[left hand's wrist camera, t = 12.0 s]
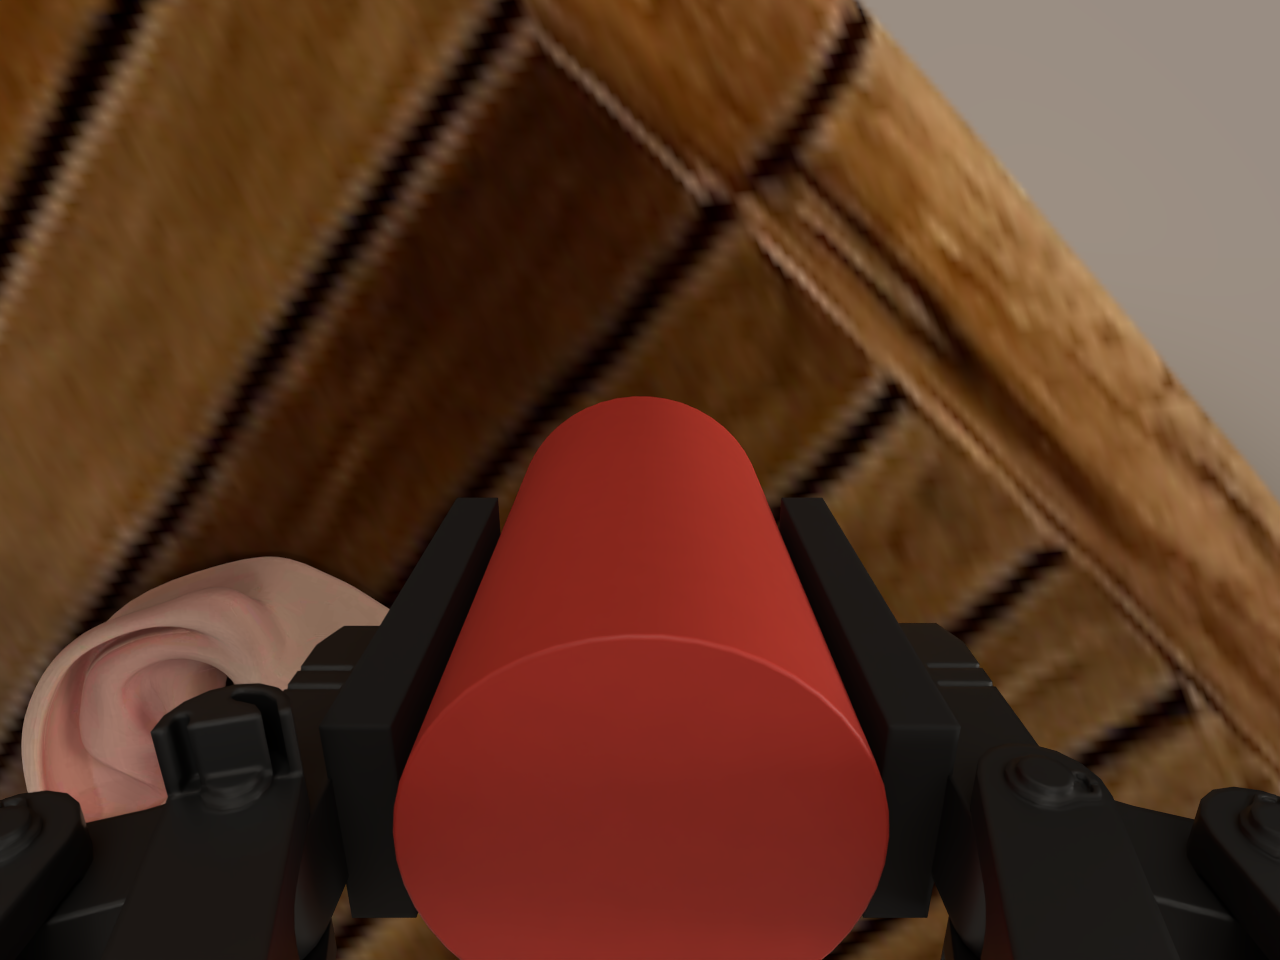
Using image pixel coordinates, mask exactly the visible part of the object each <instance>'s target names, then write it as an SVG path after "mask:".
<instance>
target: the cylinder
mask: <svg viewBox="0 0 1280 960" xmlns="http://www.w3.org/2000/svg"><path fill="white" fill-rule="evenodd" d="M393 838H394V845H395V853H396V860H397V864H398V867H399V870H400V873H401V877H402V880H403V883H404V886H405V888H406V890H407V892H408V894H409V896H410V898H411V900H412V902H413V904H414V907H415V908H416V910H417V911H418V913H419V914H420V916H421V917H422V918H423V920H424V921H425V923H426V924H427V926H428V927H429V929H430V930H431V931H432V932H433V933H434V934H435V935H436V936H437V938H438V939H439V940H440V941H441V942H442V943H443V944H444V945H445V947H446V948H447V949H449V950H450V951H451V952H452V953H453V954H454V955H456V956H457V957H458V958H459V959H460V960H822V959H823V958H824V957H825V956H827V955H828V954H829V953H830V952H831V951H833V950H834V949H835V947H836V946H837V945H838V944H839V943H840V942H841V941H842V940H843V939H844V938H845V937H846V936H847V935H848V934H849V932H850V931H851V930H852V929H853V927H854V926H855V924H856V923H857V922H858V920H859V919H860V917H861V916H862V915H863V913H864V912H865V910H866V908H867V906H868V904H869V902H870V901H871V899H872V897H873V895H874V893H875V891H876V889H877V886H878V883H879V880H880V877H881V874H882V871H883V868H884V865H885V860H886V854H887V847H888V841H889V808H888V803H887V798H886V792H885V787H884V783H883V780H882V778H881V775H880V772H879V770H878V767H877V764H876V761H875V759H874V756H873V754H872V752H871V749H870V747H869V744H868V742H867V740H866V737H865V735H864V732H863V730H862V728H861V725H860V723H859V720H858V718H857V716H856V713H855V711H854V708H853V706H852V704H851V701H850V699H849V696H848V694H847V692H846V689H845V687H844V684H843V682H842V680H841V677H840V675H839V672H838V670H837V668H836V665H835V663H834V661H833V658H832V656H831V653H830V651H829V649H828V646H827V644H826V641H825V639H824V637H823V634H822V632H821V629H820V627H819V625H818V622H817V620H816V617H815V615H814V613H813V610H812V608H811V605H810V603H809V601H808V598H807V596H806V593H805V591H804V589H803V586H802V584H801V581H800V579H799V577H798V574H797V572H796V569H795V567H794V565H793V562H792V560H791V557H790V555H789V553H788V550H787V548H786V545H785V543H784V541H783V538H782V536H781V534H780V531H779V529H778V526H777V524H776V522H775V519H774V517H773V514H772V512H771V510H770V507H769V505H768V502H767V500H766V498H765V495H764V493H763V490H762V488H761V486H760V483H759V481H758V478H757V476H756V474H755V471H754V469H753V466H752V464H751V462H750V460H749V459H748V457H747V455H746V453H745V451H744V450H743V449H742V447H741V446H740V444H739V443H738V442H737V440H736V439H735V438H734V437H733V436H732V435H731V434H730V433H729V432H728V431H727V430H726V429H725V428H724V427H723V426H722V425H720V424H719V423H718V422H717V421H715V420H714V419H713V418H711V417H710V416H708V415H706V414H704V413H703V412H701V411H699V410H698V409H695V408H693V407H690V406H688V405H686V404H683V403H680V402H676V401H672V400H669V399H664V398H656V397H635V396H633V397H625V398H617V399H613V400H609V401H605V402H601V403H598V404H596V405H593V406H591V407H588V408H586V409H584V410H582V411H580V412H579V413H577V414H575V415H573V416H571V417H570V418H569V419H567V420H566V421H565V422H563V423H562V424H561V425H559V426H558V427H557V428H556V429H555V430H554V431H553V432H552V433H551V434H550V435H549V436H548V437H547V438H546V440H545V441H544V442H543V443H542V445H541V446H540V447H539V449H538V450H537V452H536V454H535V455H534V457H533V459H532V461H531V462H530V465H529V467H528V470H527V472H526V474H525V477H524V479H523V482H522V484H521V487H520V489H519V491H518V494H517V496H516V499H515V501H514V503H513V506H512V508H511V511H510V513H509V516H508V518H507V520H506V523H505V525H504V528H503V530H502V533H501V535H500V537H499V540H498V542H497V545H496V547H495V549H494V552H493V554H492V557H491V559H490V562H489V564H488V566H487V569H486V571H485V574H484V576H483V579H482V581H481V583H480V586H479V588H478V591H477V593H476V595H475V598H474V600H473V603H472V605H471V608H470V610H469V612H468V615H467V617H466V620H465V622H464V625H463V627H462V629H461V632H460V634H459V637H458V639H457V641H456V644H455V646H454V649H453V651H452V654H451V656H450V658H449V661H448V663H447V666H446V668H445V671H444V673H443V675H442V678H441V680H440V683H439V685H438V688H437V690H436V692H435V695H434V697H433V700H432V702H431V704H430V707H429V709H428V712H427V714H426V717H425V719H424V721H423V724H422V726H421V729H420V731H419V734H418V736H417V738H416V741H415V743H414V746H413V748H412V750H411V753H410V755H409V758H408V760H407V763H406V765H405V768H404V770H403V773H402V775H401V778H400V781H399V785H398V789H397V794H396V799H395V803H394V814H393Z"/></svg>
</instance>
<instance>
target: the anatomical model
mask: <svg viewBox="0 0 1280 960" xmlns="http://www.w3.org/2000/svg"><path fill="white" fill-rule="evenodd" d="M389 610H390V609H388V608H387V607H385V606H384V605H382V604H381V603H379V602H377V601H376V600H374V599H373V598H371V597H369V596H368V595H366V594H365V593H363V592H361V591H360V590H358V589H357V588H355V587H353V586H351V585H349V584H348V583H346V582H344V581H342V580H340V579H338V578H335V577H333V576H331V575H329V574H326V573H324V572H322V571H320V570H318V569H315V568H313V567H311V566H309V565H307V564H304V563H301V562H298V561H295V560H291V559H287V558H281V557H258V558H250V559H243V560H239V561H235V562H230V563H226V564H222V565H219V566H215V567H212V568H208V569H205V570H202V571H198V572H195V573H192V574H189V575H186V576H183V577H180V578H178V579H175V580H172V581H170V582H167V583H165V584H163V585H160V586H158V587H156V588H154V589H151V590H149V591H147V592H146V593H144V594H142V595H141V596H139V597H137V598H135V599H134V600H132V601H130V602H129V603H127V604H126V605H125V606H124V607H122V608H121V609H120V610H119V611H117V612H116V613H115V614H114V615H113V616H112V617H111V618H110V619H109V620H108V621H107V622H104V623H102V624H100V625H98V626H96V627H94V628H92V629H91V630H89V631H87V632H85V633H84V634H82V635H81V636H79V637H78V638H76V639H75V640H74V641H73V642H71V643H70V644H69V645H68V646H66V647H65V648H64V649H63V650H62V651H61V652H60V653H59V654H58V655H57V656H56V658H55V659H54V660H53V661H52V662H51V664H50V665H49V666H48V668H47V669H46V671H45V672H44V674H43V675H42V677H41V679H40V680H39V682H38V684H37V686H36V688H35V690H34V693H33V695H32V697H31V700H30V702H29V705H28V708H27V712H26V715H25V719H24V724H23V731H22V761H23V770H24V776H25V781H26V786H27V791H28V793H31V792H38V791H45V790H49V791H56V792H63V793H68V794H69V795H71V796H72V797H73V798H74V799H75V800H77V801H78V802H79V803H80V806H81V809H82V812H83V816H84V819H85V822H86V823H87V822H92V821H96V820H101V819H105V818H110V817H114V816H118V815H123V814H127V813H132V812H136V811H141V810H145V809H149V808H152V807H156V806H159V805H163V804H165V803H166V800H167V798H168V796H167V792H166V789H165V785H164V781H163V777H162V774H161V770H160V766H159V763H158V759H157V755H156V751H155V748H154V744H153V740H152V737H151V733H150V732H151V731H152V729H153V728H154V727H155V726H156V724H157V723H158V722H159V721H160V719H161V718H162V717H163V716H164V715H165V714H167V713H168V712H170V711H171V710H173V709H174V708H175V707H177V706H178V705H180V704H181V703H183V702H184V701H186V700H189V699H191V698H193V697H196V696H198V695H200V694H202V693H205V692H207V691H209V690H213V689H218V688H222V687H226V686H230V685H234V684H251V683H261V684H266V685H270V686H274V687H278V688H280V689H281V690H282V691H283V690H284V689H287V688H288V683H289V682H290V681H291V679H292V678H293V677H294V675H295V674H296V672H297V671H300V670H301V665H302V664H303V663H304V661H305V660H306V659H307V657H308V656H309V654H310V653H311V652H312V650H313V649H314V647H315V646H316V645H317V644H318V643H320V642H321V641H322V640H324V639H325V638H327V637H328V636H330V635H331V634H333V633H334V632H335V631H337V630H338V629H340V628H341V627H343V626H380V625H381V623H382V621H383V620H384V618H385V616H386V615H387V613H388V611H389Z"/></svg>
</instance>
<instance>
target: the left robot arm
mask: <svg viewBox="0 0 1280 960" xmlns="http://www.w3.org/2000/svg"><path fill="white" fill-rule="evenodd" d="M779 531H780V534H781V536H782V538H783V541H784V543H785V545H786V548H787V550H788V553H789V555H790V557H791V560H792V562H793V565H794V567H795V569H796V572H797V574H798V577H799V579H800V581H801V584H802V586H803V589H804V591H805V593H806V596H807V598H808V601H809V603H810V605H811V608H812V610H813V613H814V615H815V617H816V620H817V622H818V625H819V627H820V629H821V632H822V634H823V637H824V639H825V641H826V644H827V646H828V649H829V651H830V653H831V656H832V658H833V661H834V663H835V665H836V668H837V670H838V672H839V675H840V677H841V680H842V682H843V684H844V687H845V689H846V692H847V694H848V696H849V699H850V701H851V704H852V706H853V708H854V711H855V713H856V716H857V718H858V720H859V723H860V725H861V728H862V730H863V732H864V735H865V737H866V740H867V742H868V744H869V747H870V749H871V752H872V754H873V756H874V759H875V761H876V764H877V767H878V770H879V772H880V775H881V778H882V780H883V783H884V787H885V792H886V798H887V803H888V808H889V841H888V847H887V854H886V860H885V865H884V868H883V871H882V874H881V877H880V880H879V883H878V886H877V889H876V891H875V893H874V895H873V897H872V899H871V901H870V902H869V904H868V906H867V908H866V910H865V912H864V913H863V915H862V916H863V918H927V916H928V911H929V905H930V899H931V894H932V888H933V882H935V884H936V887H937V889H938V891H939V894H940V896H941V898H942V900H943V903H944V905H945V907H946V910H947V912H948V914H949V918H948V924H947V929H946V934H945V940H944V945H943V950H942V955H941V960H1280V797H1279V796H1276V795H1274V794H1270V793H1267V792H1264V791H1260V790H1253V789H1246V788H1239V787H1229V788H1222V789H1215V790H1212V791H1211V792H1209V793H1208V794H1207V795H1206V796H1204V797H1203V798H1202V799H1201V801H1200V804H1199V807H1198V810H1197V813H1196V817H1195V820H1194V819H1190V818H1185V817H1181V816H1176V815H1172V814H1167V813H1163V812H1158V811H1154V810H1149V809H1145V808H1140V807H1136V806H1132V805H1128V804H1125V803H1122V802H1118V801H1115V800H1114V799H1113V796H1112V795H1111V793H1110V792H1109V790H1108V789H1107V788H1106V786H1105V785H1104V783H1103V782H1102V780H1101V779H1100V778H1099V777H1098V776H1096V775H1095V774H1094V773H1093V772H1091V771H1090V770H1089V769H1088V768H1086V767H1085V766H1084V765H1082V764H1081V763H1080V762H1078V761H1076V760H1074V759H1071V758H1069V757H1067V756H1065V755H1063V754H1061V753H1059V752H1057V751H1054V750H1051V749H1047V748H1043V747H1040V746H1038V744H1037V743H1036V741H1035V740H1034V739H1033V737H1032V736H1031V735H1030V733H1029V732H1028V730H1027V729H1026V728H1025V726H1024V725H1023V724H1022V722H1021V721H1020V719H1019V718H1018V717H1017V715H1016V714H1015V713H1014V711H1013V710H1012V708H1011V707H1010V706H1009V704H1008V703H1007V702H1006V700H1005V699H1004V697H1003V696H1002V695H1001V693H1000V692H999V691H998V689H997V688H996V687H993V686H992V681H991V679H990V678H989V677H988V675H987V674H986V673H985V671H984V670H983V668H979V663H978V662H977V660H976V659H975V657H974V656H973V655H972V653H971V652H970V651H969V649H968V648H967V646H966V645H965V644H964V642H963V641H961V640H960V639H958V638H957V637H955V636H954V635H952V634H951V633H949V632H948V631H946V630H945V629H944V628H942V627H941V626H939V625H938V624H936V623H898V622H897V620H896V619H895V617H894V615H893V614H892V612H891V611H890V609H889V607H888V606H887V604H886V602H885V601H884V599H883V597H882V596H881V594H880V592H879V591H878V589H877V587H876V586H875V584H874V582H873V581H872V579H871V577H870V576H869V574H868V573H867V571H866V569H865V568H864V566H863V564H862V563H861V561H860V559H859V558H858V556H857V554H856V553H855V551H854V549H853V548H852V546H851V544H850V543H849V541H848V539H847V538H846V536H845V535H844V533H843V531H842V530H841V528H840V526H839V525H838V523H837V521H836V520H835V518H834V516H833V515H832V513H831V511H830V510H829V508H828V506H827V505H826V503H825V501H824V500H823V498H782V499H781V513H780V528H779ZM499 537H500V521H499V506H498V498H457V499H456V501H455V502H454V504H453V506H452V507H451V509H450V511H449V512H448V514H447V516H446V517H445V519H444V520H443V522H442V524H441V525H440V527H439V529H438V530H437V532H436V534H435V535H434V537H433V539H432V540H431V542H430V544H429V545H428V547H427V549H426V550H425V552H424V553H423V555H422V557H421V558H420V560H419V562H418V563H417V565H416V567H415V568H414V570H413V572H412V573H411V575H410V577H409V578H408V580H407V582H406V583H405V585H404V587H403V588H402V590H401V591H400V593H399V595H398V596H397V598H396V600H395V601H394V603H393V605H392V606H391V608H390V610H389V611H388V613H387V615H386V616H385V618H384V620H383V621H382V623H381V625H380V626H343V627H341V628H340V629H338V630H337V631H335V632H334V633H333V634H331V635H330V636H328V637H327V638H325V639H324V640H322V641H321V642H320V643H318V644H317V645H316V646H315V647H314V649H313V650H312V652H311V653H310V654H309V656H308V657H307V659H306V660H305V661H304V663H303V664H302V665H301V670H300V671H297V672H296V674H295V675H294V677H293V678H292V679H291V681H290V682H289V683H288V688H287V689H284V690H283V691H282V690H281V689H280V688H278V687H274V686H270V685H266V684H261V683H251V684H234V685H230V686H226V687H222V688H218V689H213V690H209V691H207V692H205V693H202V694H200V695H198V696H196V697H193V698H191V699H189V700H186V701H184V702H183V703H181V704H180V705H178V706H177V707H175V708H174V709H173V710H171V711H170V712H168V713H167V714H165V715H164V716H163V717H162V718H161V719H160V721H159V722H158V723H157V724H156V726H155V727H154V728H153V729H152V731H151V732H150V733H151V737H152V740H153V744H154V748H155V751H156V755H157V759H158V763H159V766H160V770H161V774H162V777H163V781H164V785H165V789H166V792H167V796H168V798H167V800H166V803H165V804H163V805H159V806H156V807H152V808H149V809H145V810H141V811H136V812H132V813H127V814H123V815H118V816H114V817H110V818H105V819H101V820H96V821H92V822H87V823H86V822H85V819H84V816H83V812H82V809H81V806H80V803H79V802H78V801H77V800H75V799H74V798H73V797H72V796H71V795H69V794H68V793H63V792H56V791H49V790H45V791H38V792H31V793H24V794H18V795H15V796H12V797H8V798H5V799H3V800H0V960H335V959H336V942H335V935H334V929H333V924H332V918H331V917H332V915H333V913H334V910H335V908H336V906H337V903H338V901H339V898H340V896H341V894H342V891H343V889H344V887H345V884H346V885H347V891H348V897H349V902H350V908H351V914H352V918H416V917H417V914H418V911H417V910H416V908H415V907H414V904H413V902H412V900H411V898H410V896H409V894H408V892H407V890H406V888H405V886H404V883H403V880H402V877H401V873H400V870H399V867H398V864H397V860H396V853H395V845H394V838H393V814H394V803H395V799H396V794H397V789H398V785H399V781H400V778H401V775H402V773H403V770H404V768H405V765H406V763H407V760H408V758H409V755H410V753H411V750H412V748H413V746H414V743H415V741H416V738H417V736H418V734H419V731H420V729H421V726H422V724H423V721H424V719H425V717H426V714H427V712H428V709H429V707H430V704H431V702H432V700H433V697H434V695H435V692H436V690H437V688H438V685H439V683H440V680H441V678H442V675H443V673H444V671H445V668H446V666H447V663H448V661H449V658H450V656H451V654H452V651H453V649H454V646H455V644H456V641H457V639H458V637H459V634H460V632H461V629H462V627H463V625H464V622H465V620H466V617H467V615H468V612H469V610H470V608H471V605H472V603H473V600H474V598H475V595H476V593H477V591H478V588H479V586H480V583H481V581H482V579H483V576H484V574H485V571H486V569H487V566H488V564H489V562H490V559H491V557H492V554H493V552H494V549H495V547H496V545H497V542H498V540H499Z"/></svg>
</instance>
